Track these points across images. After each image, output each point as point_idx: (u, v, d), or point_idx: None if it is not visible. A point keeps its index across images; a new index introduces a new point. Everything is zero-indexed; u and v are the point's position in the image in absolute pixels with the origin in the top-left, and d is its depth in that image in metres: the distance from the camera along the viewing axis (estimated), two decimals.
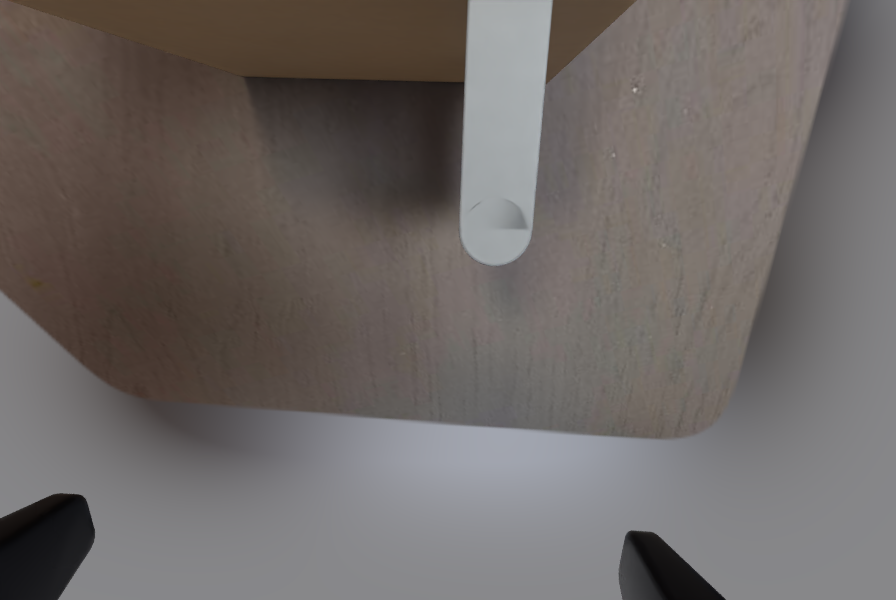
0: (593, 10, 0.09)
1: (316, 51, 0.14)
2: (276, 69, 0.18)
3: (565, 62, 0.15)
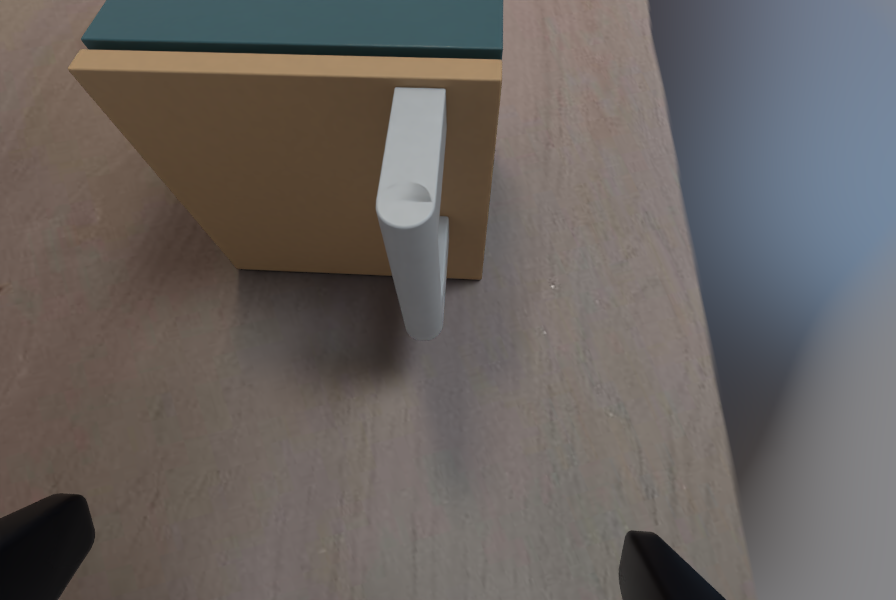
0: (477, 118, 0.15)
1: (299, 205, 0.20)
2: (266, 249, 0.23)
3: (483, 223, 0.20)
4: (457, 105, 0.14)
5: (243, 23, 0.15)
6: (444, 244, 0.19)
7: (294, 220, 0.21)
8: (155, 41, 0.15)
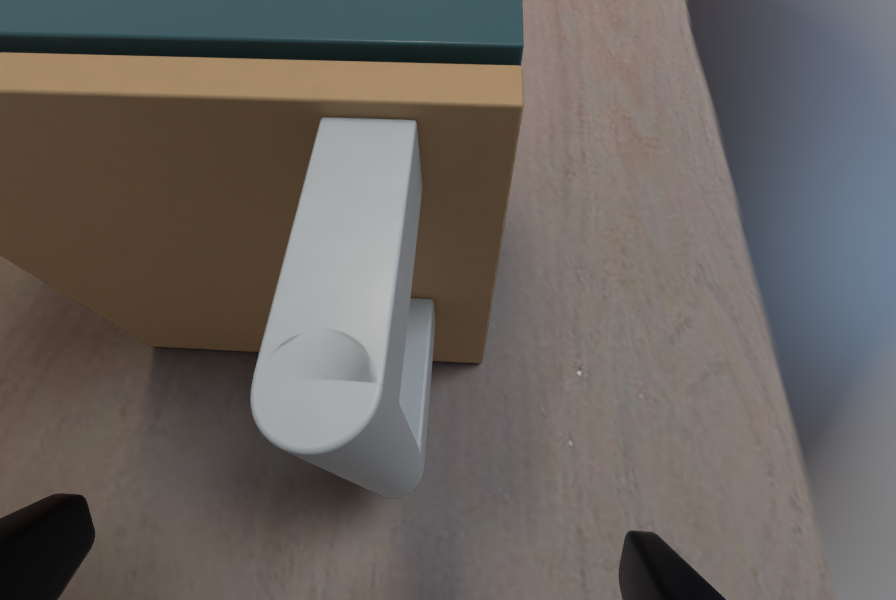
0: (476, 170, 0.08)
1: (209, 282, 0.13)
2: (181, 328, 0.16)
3: (485, 307, 0.13)
4: (439, 148, 0.08)
5: (57, 0, 0.08)
6: (426, 346, 0.12)
7: (208, 299, 0.14)
8: None
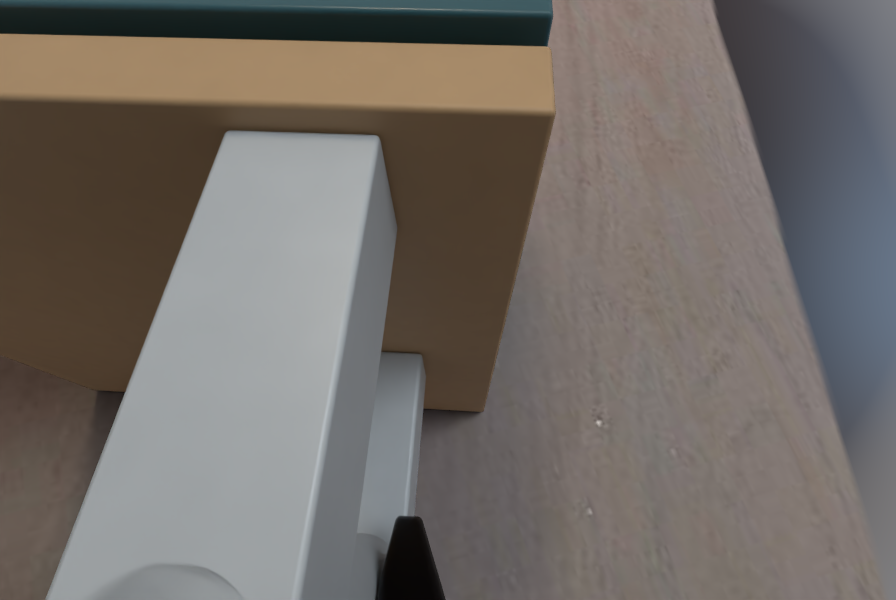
0: (476, 208, 0.06)
1: (135, 332, 0.10)
2: (121, 375, 0.14)
3: (488, 362, 0.11)
4: (420, 178, 0.05)
5: None
6: (411, 418, 0.10)
7: (141, 349, 0.11)
8: None
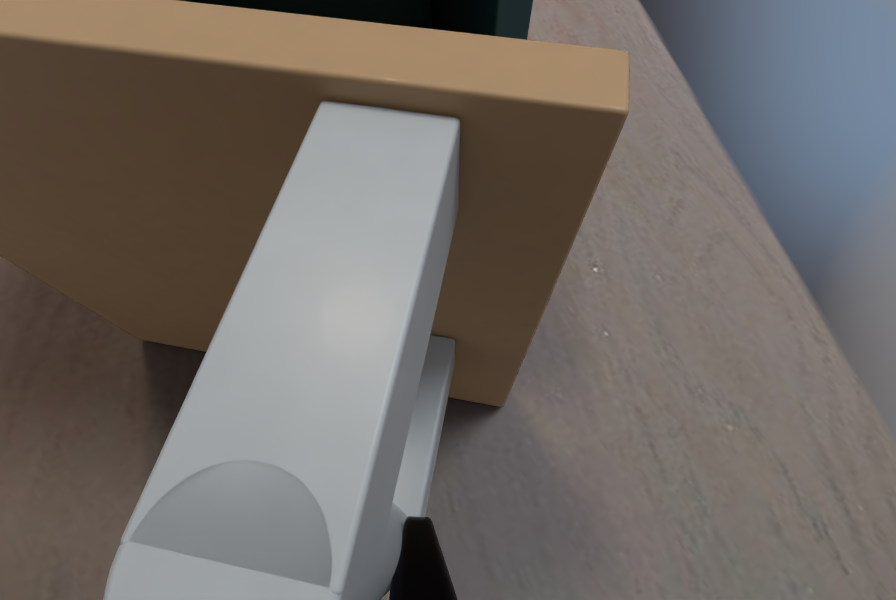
0: (536, 198, 0.06)
1: (191, 286, 0.11)
2: (167, 327, 0.14)
3: (518, 355, 0.11)
4: (489, 163, 0.05)
5: None
6: (439, 399, 0.10)
7: (193, 303, 0.12)
8: None
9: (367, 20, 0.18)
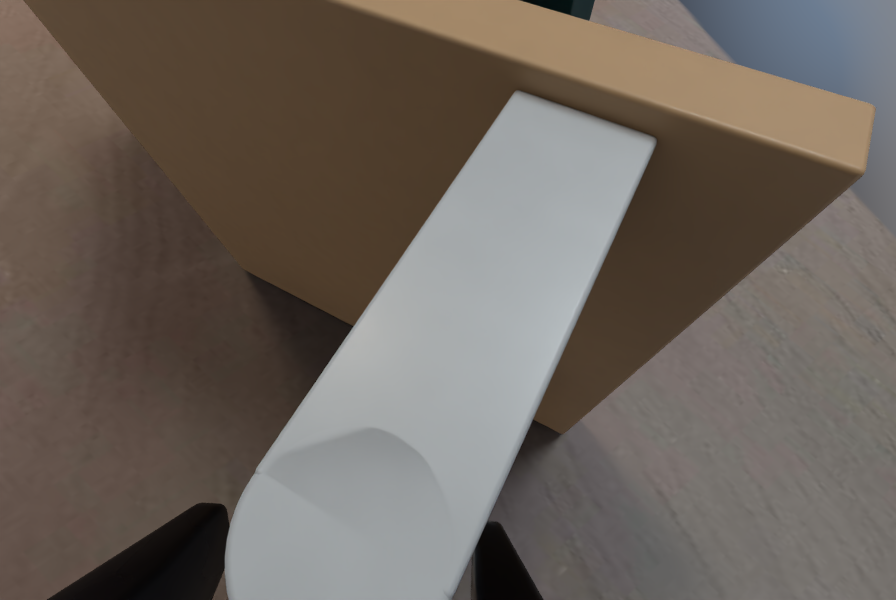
0: (704, 239, 0.05)
1: (310, 235, 0.11)
2: (273, 265, 0.15)
3: (604, 390, 0.10)
4: (668, 191, 0.05)
5: None
6: None
7: (304, 250, 0.13)
8: None
9: None
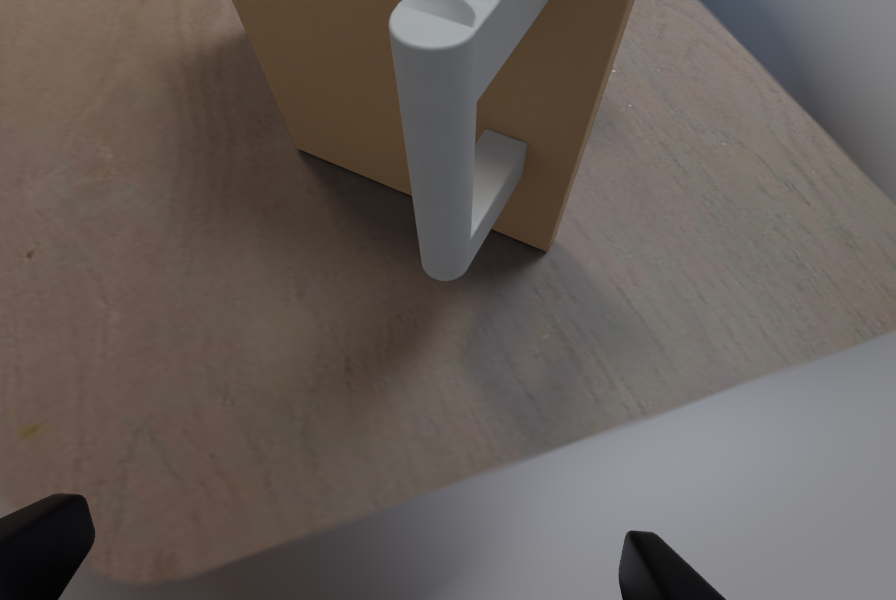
0: None
1: (363, 75, 0.16)
2: (325, 129, 0.20)
3: (569, 167, 0.15)
4: None
5: None
6: (507, 172, 0.15)
7: (356, 97, 0.17)
8: None
9: None
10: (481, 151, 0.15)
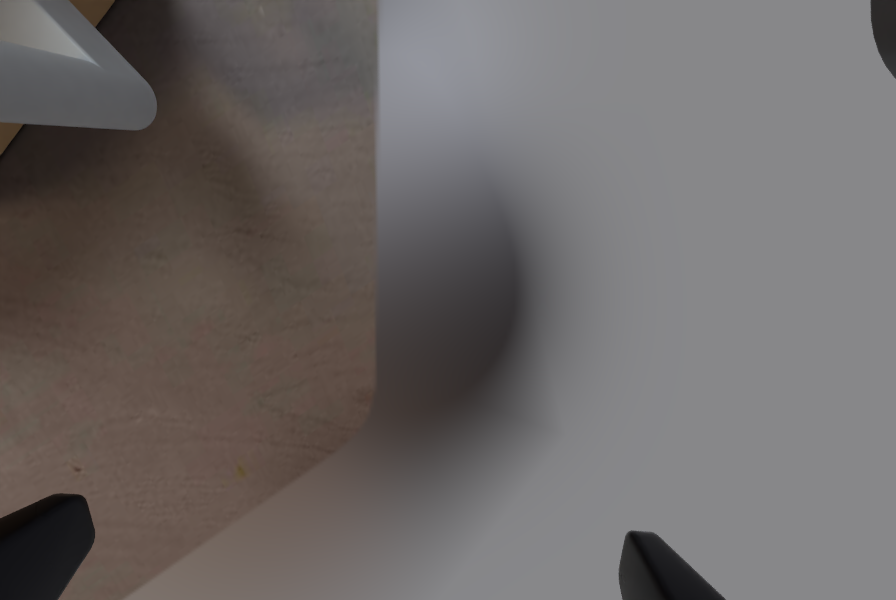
0: None
1: None
2: None
3: None
4: None
5: None
6: None
7: None
8: None
9: None
10: None
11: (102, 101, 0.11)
